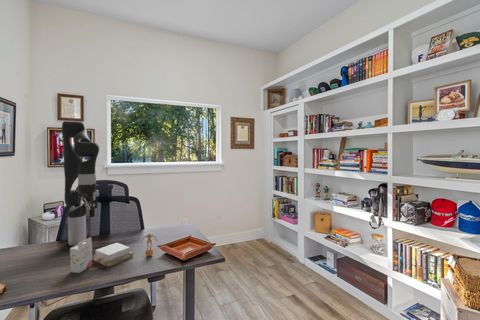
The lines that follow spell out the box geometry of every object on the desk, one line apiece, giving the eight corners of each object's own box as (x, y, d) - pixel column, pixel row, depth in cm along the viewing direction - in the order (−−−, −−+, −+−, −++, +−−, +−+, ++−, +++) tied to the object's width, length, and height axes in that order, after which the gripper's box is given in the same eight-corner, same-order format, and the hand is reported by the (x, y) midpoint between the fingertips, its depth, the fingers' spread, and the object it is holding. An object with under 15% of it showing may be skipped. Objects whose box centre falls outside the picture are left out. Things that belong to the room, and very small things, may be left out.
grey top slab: (95, 255, 132) (95, 249, 132) (116, 247, 142) (116, 242, 142) (108, 261, 126) (108, 255, 125) (129, 252, 136) (129, 247, 136)
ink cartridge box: (84, 264, 127) (84, 235, 126) (92, 265, 126) (92, 236, 125) (69, 272, 118) (69, 242, 118) (78, 273, 117) (78, 243, 117)
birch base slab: (93, 261, 132) (92, 255, 131) (117, 251, 144) (117, 246, 143) (108, 268, 124) (108, 262, 124) (133, 257, 136) (132, 252, 136)
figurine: (140, 258, 134) (140, 236, 133) (141, 253, 140) (141, 232, 139) (157, 256, 137) (157, 235, 136) (157, 252, 142) (157, 231, 142)
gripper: (72, 182, 122) (72, 214, 123) (85, 185, 114) (86, 219, 115) (88, 180, 129) (88, 211, 130) (102, 183, 121) (102, 216, 122)
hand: (87, 215), depth 122 cm, fingers open, 8 cm apart
